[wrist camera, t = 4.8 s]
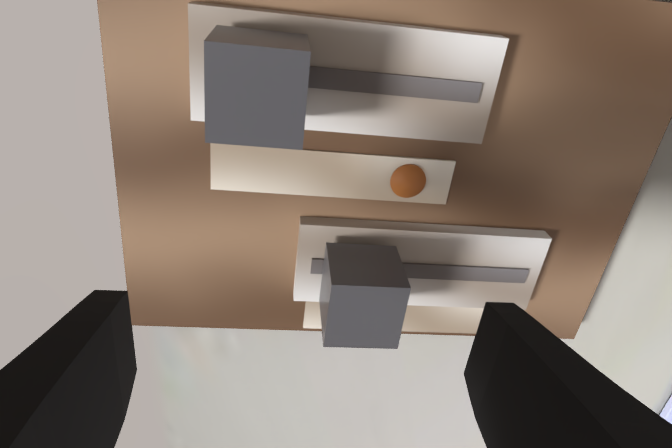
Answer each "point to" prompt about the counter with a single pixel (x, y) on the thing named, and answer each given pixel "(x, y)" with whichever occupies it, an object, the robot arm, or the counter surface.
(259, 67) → the switch
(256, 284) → the switch board
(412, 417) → the counter surface
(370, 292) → the switch
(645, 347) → the counter surface
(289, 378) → the counter surface
